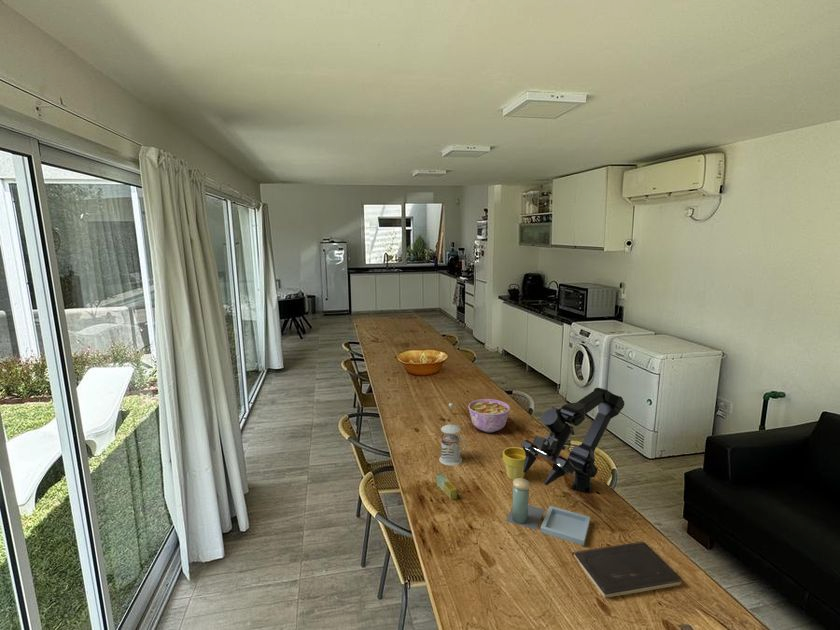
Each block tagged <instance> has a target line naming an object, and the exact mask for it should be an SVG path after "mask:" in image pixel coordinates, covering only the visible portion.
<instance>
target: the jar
mask: <svg viewBox="0 0 840 630" xmlns="http://www.w3.org/2000/svg"><path fill="white" fill-rule="evenodd" d="M529 495H530V481H529V480H527V479H526V478H516V479H514V480H512V508H513V510H512V509H511V510H512V519H513V521H514V522H516V523H518V524H525V523H527V521H528V505H529V498H530V497H529Z"/></svg>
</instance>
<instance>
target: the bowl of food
mask: <svg viewBox="0 0 840 630" xmlns="http://www.w3.org/2000/svg"><path fill="white" fill-rule="evenodd" d="M468 411H469V417H470V419H471V423H472V424H473V426H474V427H475V428H476V429H478V430H480V431H482V432H485V433H495V432H497V431H500V430H501V429H503V428H505V425H506V423H507V421H508V417H509V413H510V411H511V407H510V405H509V404H508V403H506V402H504V401H502V400H498V399H492V398H490V399H489V398H482V399H475V400H473V401H471V402H469V404H468Z"/></svg>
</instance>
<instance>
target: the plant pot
mask: <svg viewBox="0 0 840 630" xmlns="http://www.w3.org/2000/svg"><path fill="white" fill-rule="evenodd" d="M525 456H526V454H525V451H524V450H523V447H517V446H512V447H506V448H505V449H503V451H502V461H503V463H504V466H505V472H506V477H507V478H508V479H510V480H512V481H513V480H514V479H516V478H523V479H525V476H526V473H524V472H523V469H524V463H525Z"/></svg>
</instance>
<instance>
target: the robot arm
mask: <svg viewBox="0 0 840 630" xmlns="http://www.w3.org/2000/svg"><path fill="white" fill-rule="evenodd" d="M596 407H597V408H598V411H597V413H596V415H595V417H594V419H593V421H592V423H591V425H590V427H589V429H588V431H587V432H586V435H585V436H584V437H583V441H582V443H581V444H580V445H574V446H573V447H572V448H571V451H570V452H569V455H568V457H567V458H565V457H563V456H560V454H561V451H562V450H563V451H565V449H566V446H565V445H566V444H567V441H568V440H569V437H570V436H571V435H572V436H575V431H574V426H575V427H578V426H579V425H581V424H582V423H583V422H584V421H585V420H586V415H587V414H588V413H589V412H591V411H592V410H593V409H595V408H596ZM624 407H625V401H624V399H623V397H622V396H620V395H616V394H614V393H612V392H611V391H609V390H608V389H605V388H601V387H595V388H594V389H593V391H592V392H590V393H588V394H587V395H585V396H584V397H582V398H581V399H579V400H578V401H576V402H569V403H567V404H562V406H561V407H560V408H558V407H557V408H556V407H554V406H552V407H551V409H547V410H545V411H544V412H542V413H541V417H540V420H541V422H542V423H543V425H544V426H545V428H546V429H548V430H549V432H550V433H549V434H546V435H545V436H544V437H543V436H540V435H535V436H534V439H533V441H530V440H528V439H526V440H523V441H522V443H521V448H522V449H523V450H524V451H525V454H526V456H525V463H524V469H523V472H524V473H525V474H526V473H527V472H528V471H529V469H530V468H532V465H534V463H535V462H536V460H537V456H540V457H543V458H544V459H547V460H548V461H550V462H552V463H553V464H552V469H551V471H550V472H549V474H548V476H547V478H546V480H545V482H544V485H546V486H548V485H549V484H551V483H552V482H554V481H556V480H557V479H559V478H561V477H563V476H565V475H566V476H568V475H571V476H572V475H573V473H574V477H573V478H574V479H573V482H572V485H571V489H572V490H576V491H580V492H584V493H588V494H590V493H591V490H592V487H593V483H592V481H591V479H592V478H596V475H597V474H598V472H599V471H598V467H597V466H596V465H595V462H596V458H595V451H596V448H597V447H598V444H599V443H600V440H601V439H602V437H603V435H604V433H605V431H606V429H607V427H608V425H609V423H610V421H611V419H613V418H614V417H616V416H618V415H619V414H620V413H621V411H622V410H623V408H624ZM569 424H570V425H569Z"/></svg>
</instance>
